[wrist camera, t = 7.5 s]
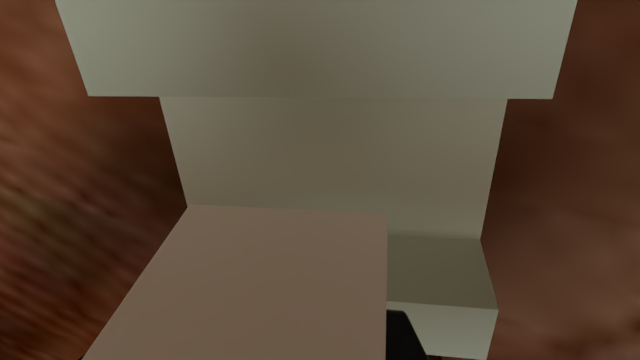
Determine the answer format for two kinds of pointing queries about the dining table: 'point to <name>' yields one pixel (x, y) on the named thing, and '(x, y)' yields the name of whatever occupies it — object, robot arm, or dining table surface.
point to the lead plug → (257, 289)
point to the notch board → (342, 118)
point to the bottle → (433, 357)
